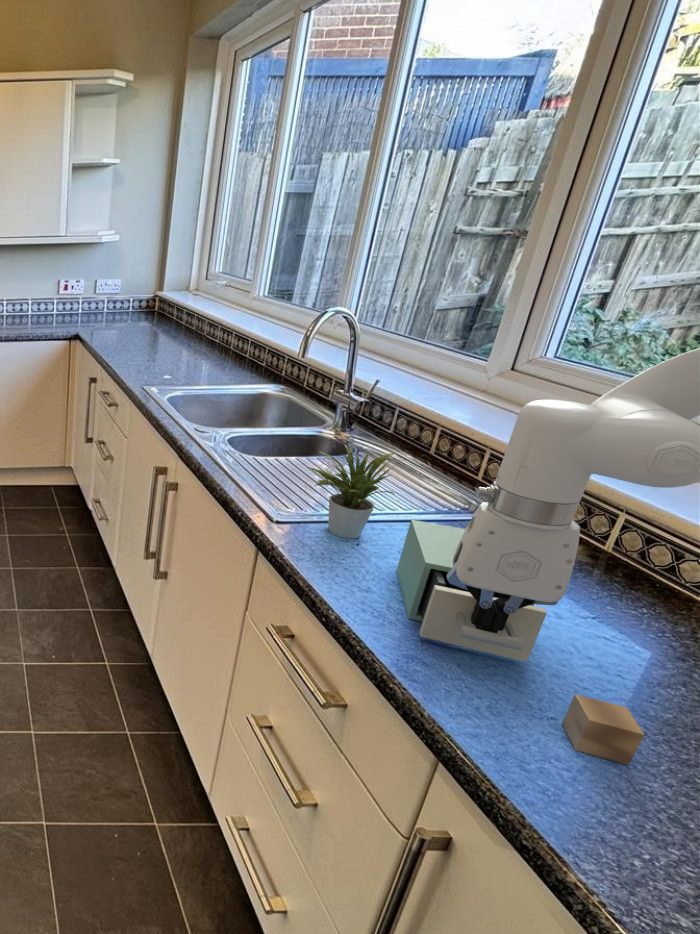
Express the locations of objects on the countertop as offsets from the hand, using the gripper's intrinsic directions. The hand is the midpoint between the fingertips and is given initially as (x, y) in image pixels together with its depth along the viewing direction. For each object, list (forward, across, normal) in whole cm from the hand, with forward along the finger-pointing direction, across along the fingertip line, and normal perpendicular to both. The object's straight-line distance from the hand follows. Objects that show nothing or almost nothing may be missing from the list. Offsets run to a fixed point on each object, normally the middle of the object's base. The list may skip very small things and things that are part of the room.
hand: (484, 630), depth 80 cm
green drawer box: (+5, 0, +15) cm, 16 cm away
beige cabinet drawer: (+4, 0, +6) cm, 8 cm away
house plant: (+5, -13, +35) cm, 37 cm away
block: (+5, +9, -10) cm, 15 cm away
